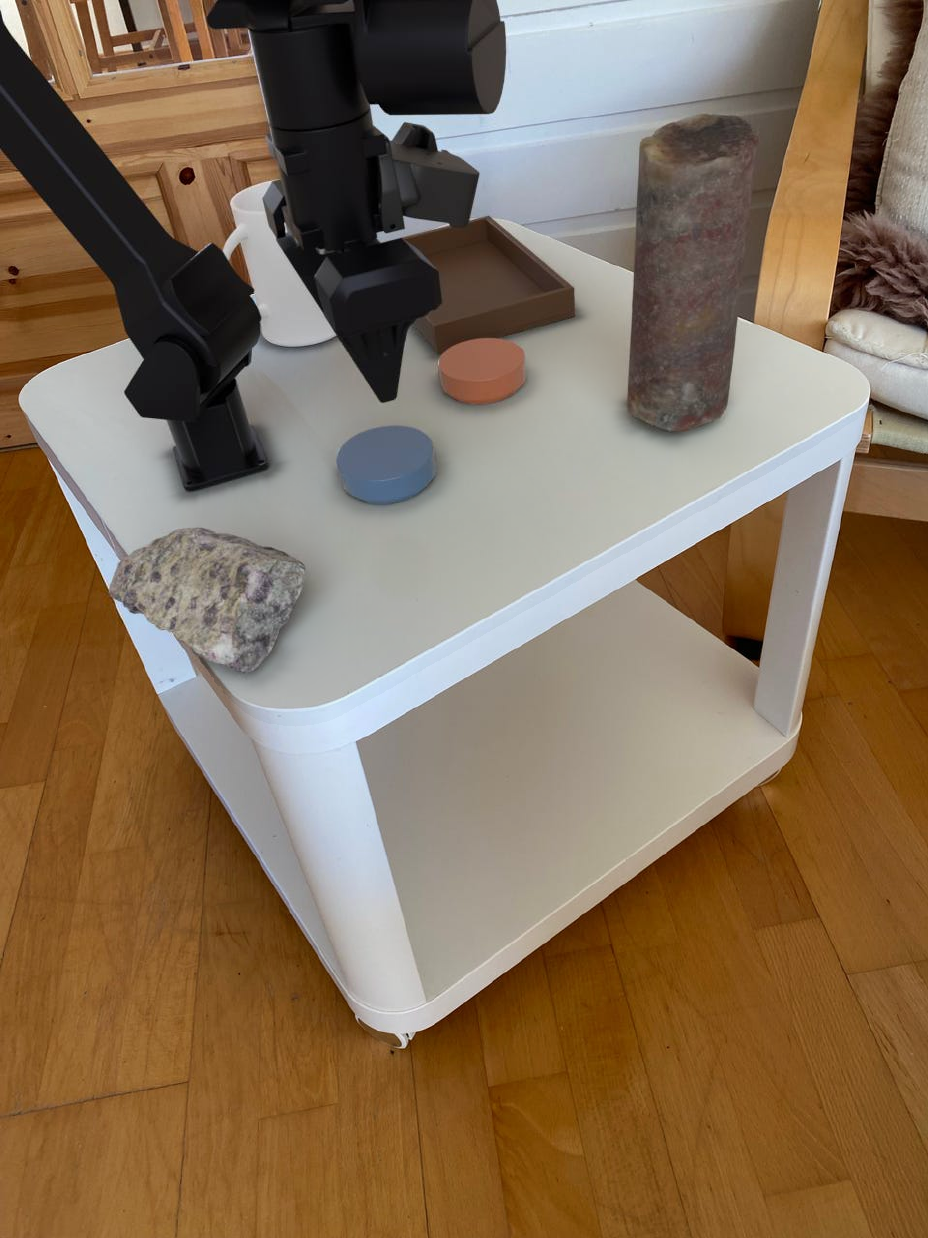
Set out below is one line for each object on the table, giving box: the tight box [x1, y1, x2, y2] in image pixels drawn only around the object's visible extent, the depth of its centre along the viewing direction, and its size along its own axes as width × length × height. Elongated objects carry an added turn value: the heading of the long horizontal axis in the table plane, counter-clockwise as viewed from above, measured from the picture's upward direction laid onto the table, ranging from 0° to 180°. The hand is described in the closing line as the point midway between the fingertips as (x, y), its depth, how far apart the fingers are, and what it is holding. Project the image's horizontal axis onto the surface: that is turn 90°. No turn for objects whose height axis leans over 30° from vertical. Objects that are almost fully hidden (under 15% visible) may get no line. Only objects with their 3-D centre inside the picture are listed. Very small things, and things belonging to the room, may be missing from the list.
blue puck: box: [335, 425, 437, 505], centre depth 68 cm, size 7×7×2 cm
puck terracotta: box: [437, 338, 527, 405], centre depth 77 cm, size 7×7×2 cm
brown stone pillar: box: [626, 113, 760, 433], centre depth 64 cm, size 8×7×20 cm
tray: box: [401, 215, 576, 356], centre depth 89 cm, size 20×13×3 cm, turn 21°
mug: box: [222, 178, 337, 348], centre depth 84 cm, size 12×8×12 cm
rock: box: [108, 527, 307, 674], centre depth 58 cm, size 13×6×10 cm
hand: (367, 368), depth 63 cm, fingers open, 9 cm apart
